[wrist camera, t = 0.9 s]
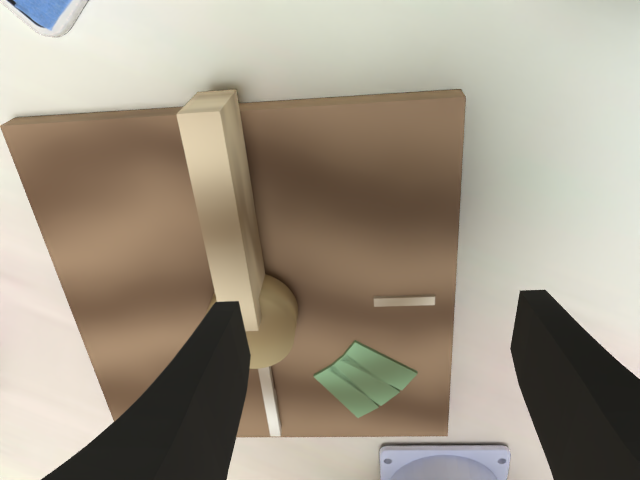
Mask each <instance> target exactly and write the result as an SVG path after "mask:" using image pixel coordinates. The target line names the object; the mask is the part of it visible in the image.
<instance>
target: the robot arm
mask: <svg viewBox="0 0 640 480" xmlns="http://www.w3.org/2000/svg"><path fill="white" fill-rule="evenodd" d="M510 349H511V353H512V358H513V362H514V366H515V371H516V375H517V379H518V383H519V386H520V389H521V392H522V395H523V397H524V400H525V403H526V405H527V408H528V411H529V413H530V416H531V419H532V421H533V424H534V427H535V429H536V432H537V435H538V437H539V440H540V442H541V445H542V448H543V450H544V453H545V456H546V458H547V461H548V464H549V466H550V469H551V472H552V475H553V478H554V480H640V379H639V378H637V377H636V376H635V375H634V374H633V373H631V372H630V371H629V370H628V369H627V368H626V367H624V366H623V365H622V364H621V363H620V362H619V361H617V360H616V359H615V358H614V357H613V356H612V355H611V354H610V353H609V352H608V351H606V350H605V349H604V348H603V347H602V346H601V345H600V344H599V343H598V342H597V341H596V340H595V339H594V338H593V337H592V336H591V335H590V334H589V333H587V332H586V331H585V330H584V329H583V328H582V327H581V326H580V325H579V324H578V323H577V322H576V321H575V320H574V319H573V318H572V317H571V316H570V315H569V313H568V312H567V311H566V310H565V309H564V308H563V307H562V306H561V305H560V304H559V303H558V302H557V301H556V300H555V299H554V298H553V297H552V296H551V295H550V294H549V293H548V292H547V291H546V290H526V291H520V294H519V300H518V306H517V312H516V318H515V324H514V330H513V336H512V342H511V348H510ZM250 359H251V354H250V350H249V345H248V341H247V336H246V332H245V327H244V323H243V318H242V314H241V309H240V305H239V301H225V302H215V303H214V304H213V305H212V307H211V308H210V310H209V311H208V313H207V314H206V315H205V317H204V318H203V320H202V321H201V322H200V324H199V325H198V327H197V328H196V329H195V331H194V332H193V333H192V335H191V336H190V337H189V339H188V340H187V341H186V343H185V344H184V345H183V347H182V348H181V349H180V350H179V352H178V353H177V354H176V356H175V357H174V358H173V359H172V361H171V362H170V363H169V364H168V365H167V367H166V368H165V369H164V370H163V371H162V372H161V374H160V375H159V376H158V377H157V378H156V379H155V380H154V382H153V383H152V384H151V385H150V386H149V387H148V388H147V390H146V391H145V392H144V393H143V394H142V395H141V396H140V397H139V398H138V399H137V400H136V401H135V402H134V403H133V404H132V405H131V406H130V407H129V408H128V409H127V410H126V411H125V412H124V413H123V414H122V415H121V416H120V417H119V418H118V419H117V420H116V421H114V422H113V423H112V424H111V425H110V426H109V427H108V428H107V429H105V430H104V431H103V432H102V433H101V434H100V435H98V436H97V437H96V438H95V439H94V440H93V441H92V442H90V443H89V444H88V445H87V446H86V447H84V448H83V449H82V450H80V451H79V452H78V453H77V454H75V455H74V456H73V457H71V458H70V459H69V460H68V461H66V462H65V463H63V464H62V465H61V466H59V467H58V468H57V469H55V470H54V471H53V472H51V473H50V474H48V475H47V476H45V477H44V478H43V479H41V480H226V479H227V474H228V469H229V465H230V461H231V457H232V452H233V448H234V444H235V440H236V436H237V432H238V427H239V423H240V419H241V415H242V411H243V406H244V402H245V398H246V393H247V387H248V378H249V369H250ZM510 456H511V454H510V450H509V448H508V447H506V446H502V445H486V446H384V447H382V448H381V449H380V477H381V480H507V477H508V470H509V463H510ZM387 458H388V459H387Z"/></svg>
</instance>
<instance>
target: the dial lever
mask: <svg viewBox="0 0 640 480" xmlns="http://www.w3.org/2000/svg"><path fill="white" fill-rule="evenodd" d="M176 115H177V120H178V124H179V129H180V134H181V138H182V143H183V147H184V152H185V157H186V161H187V166H188V170H189V175H190V180H191V184H192V189H193V194H194V198H195V203H196V207H197V212H198V217H199V221H200V226H201V231H202V235H203V240H204V244H205V249H206V254H207V258H208V263H209V267H210V272H211V277H212V281H213V286H214V291H215V292H214V294H213V297H212V299H211V302H210V304H209V307H208V309H207V312H206V314H207V313H208V311H209V310H210V308H211V307H212V305H213V304H214V303H215V302H225V301H239V305H240V309H241V314H242V318H243V323H244V327H245V332H246V336H247V341H248V345H249V350H250V354H251V359H250V369H258V372H259V377H260V382H261V388H262V393H263V399H264V404H265V410H266V415H267V421H268V426H269V431H270V437H274V436H281V425H280V419H279V413H278V407H277V401H276V395H275V389H274V384H273V378H272V372H271V366H272V365H274V364H277V363H278V362H280V361H281V360H283V359H284V358H285V357H286V356H287V355H288V354H289V352H290V351H291V349H292V346H293V343H294V337H295V331H296V324H297V318H298V304H297V301H296V298H295V296H294V295H293V293H292V292H291V290H290V289H289V288H288V287H287V286H286V285H285V284H284V283H282V282H281V281H279V280H278V279H276V278H274V277H272V276H269V275H266V274H265V269H264V263H263V256H262V250H261V243H260V237H259V231H258V224H257V218H256V212H255V205H254V199H253V192H252V186H251V180H250V173H249V167H248V160H247V154H246V148H245V141H244V135H243V129H242V122H241V116H240V109H239V103H238V97H237V90H236V89H235V90H220V91H205V92H197V93H196V94H195V95H194V96H193V97H192V98H191V99H190V100H189V101H188V103H187V104H186V105H185V106H184V107H183V108H182V109H181V110H180V111H179V112H178V113H177V114H176ZM206 314H205V315H206Z"/></svg>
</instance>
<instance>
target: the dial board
mask: <svg viewBox="0 0 640 480" xmlns="http://www.w3.org/2000/svg"><path fill="white" fill-rule="evenodd" d="M465 102H466V96H465V95H464V93H463V92H462V90H461V89H456V90H441V91H425V92H409V93H394V94H378V95H362V96H347V97H331V98H315V99H299V100H284V101H268V102H252V103H239V109H240V116H241V122H242V129H243V135H244V141H245V148H246V154H247V160H248V167H249V173H250V180H251V186H252V192H253V199H254V205H255V212H256V218H257V224H258V231H259V237H260V243H261V250H262V256H263V263H264V269H265V274H266V275H269V276H272V277H274V278H276V279H278V280H279V281H281V282H282V283H284V284H285V285H286V286H287V287H288V288H289V289H290V290H291V292H292V293H293V295H294V296H295V298H296V301H297V304H298V318H297V324H296V331H295V337H294V343H293V346H292V349H291V351H290V352H289V354H288V355H287V356H286V357H285V358H284V359H283V360H281V361H280V362H278V363H277V364H274V365H272V366H271V372H272V378H273V384H274V389H275V395H276V401H277V407H278V413H279V419H280V425H281V436H274V437H384V436H447V435H448V417H449V398H450V380H451V361H452V343H453V324H454V306H455V287H456V269H457V250H458V232H459V213H460V195H461V176H462V158H463V139H464V121H465ZM182 108H183V107H174V108H158V109H143V110H127V111H111V112H96V113H80V114H64V115H49V116H33V117H17V118H14V119H12V120H10V121H8V122H6V123H5V124H3V125H1V126H0V127H1V130H2V132H3V135H4V138H5V140H6V143H7V145H8V148H9V151H10V153H11V156H12V158H13V161H14V163H15V166H16V169H17V171H18V174H19V176H20V179H21V182H22V184H23V187H24V189H25V192H26V195H27V197H28V200H29V202H30V205H31V207H32V210H33V213H34V215H35V218H36V220H37V223H38V226H39V228H40V231H41V233H42V236H43V239H44V241H45V244H46V246H47V249H48V251H49V254H50V257H51V259H52V262H53V264H54V267H55V270H56V272H57V275H58V277H59V280H60V283H61V285H62V288H63V290H64V293H65V295H66V298H67V301H68V303H69V306H70V308H71V311H72V314H73V316H74V319H75V321H76V324H77V327H78V329H79V332H80V334H81V337H82V340H83V342H84V345H85V347H86V350H87V352H88V355H89V358H90V360H91V363H92V365H93V368H94V371H95V373H96V376H97V378H98V381H99V384H100V386H101V389H102V391H103V394H104V396H105V399H106V402H107V404H108V407H109V409H110V412H111V415H112V417H113V420H114V421H116V420H117V419H118V418H119V417H120V416H121V415H122V414H123V413H124V412H125V411H126V410H127V409H128V408H129V407H130V406H131V405H132V404H133V403H134V402H135V401H136V400H137V399H138V398H139V397H140V396H141V395H142V394H143V393H144V392H145V391H146V390H147V388H148V387H149V386H150V385H151V384H152V383H153V382H154V380H155V379H156V378H157V377H158V376H159V375H160V374H161V372H162V371H163V370H164V369H165V368H166V367H167V365H168V364H169V363H170V362H171V361H172V359H173V358H174V357H175V356H176V354H177V353H178V352H179V350H180V349H181V348H182V347H183V345H184V344H185V343H186V341H187V340H188V339H189V337H190V336H191V335H192V333H193V332H194V331H195V329H196V328H197V327H198V325H199V324H200V322H201V321H202V320H203V318H204V317H205V314H206V312H207V309H208V307H209V304H210V302H211V299H212V297H213V294H214V292H215V291H214V286H213V281H212V277H211V272H210V267H209V263H208V258H207V254H206V249H205V244H204V240H203V235H202V231H201V226H200V221H199V217H198V212H197V207H196V203H195V198H194V194H193V189H192V184H191V180H190V175H189V170H188V166H187V161H186V157H185V152H184V147H183V143H182V138H181V134H180V129H179V124H178V120H177V115H176V114H177V113H178V112H179V111H180V110H181V109H182ZM236 437H270V431H269V426H268V421H267V415H266V410H265V404H264V399H263V393H262V388H261V382H260V377H259V372H258V369H249V378H248V387H247V393H246V398H245V402H244V406H243V411H242V415H241V419H240V423H239V427H238V432H237V436H236Z"/></svg>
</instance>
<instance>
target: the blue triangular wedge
mask: <svg viewBox="0 0 640 480" xmlns="http://www.w3.org/2000/svg"><path fill="white" fill-rule="evenodd" d="M0 2H1V3H2V4H3V5H4V6H5V7H7V8H8V9H9V10H10V11H11V12H12V13H14V14H15V15H16V16H17V17H18V18H20V19H21V20H22V21H23V22H24V23H26V24H27V25H28V26H29V27H31V28H32V29H33V30H34V31H35V32H37V33H39V34H41V35H44V36H49V37H60V36H62V35H65V34H66V33H67V32H68V31H69V30H70V29H71V27H72V26H73V24H74V23H75V21H76V19H77V18H78V16H79V14H80V13H81V11H82V10H83V8H84V6H85V5H86V3H87V2H88V0H0Z"/></svg>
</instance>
